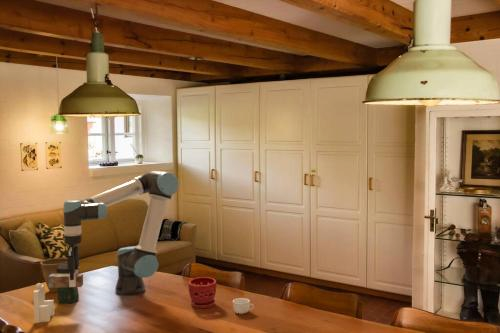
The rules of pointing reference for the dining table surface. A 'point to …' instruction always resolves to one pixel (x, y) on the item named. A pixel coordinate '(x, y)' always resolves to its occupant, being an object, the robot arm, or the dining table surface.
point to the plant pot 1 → (51, 269)
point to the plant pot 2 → (202, 292)
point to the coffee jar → (66, 288)
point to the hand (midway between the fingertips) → (73, 285)
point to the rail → (64, 280)
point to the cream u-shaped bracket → (42, 305)
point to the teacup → (241, 305)
